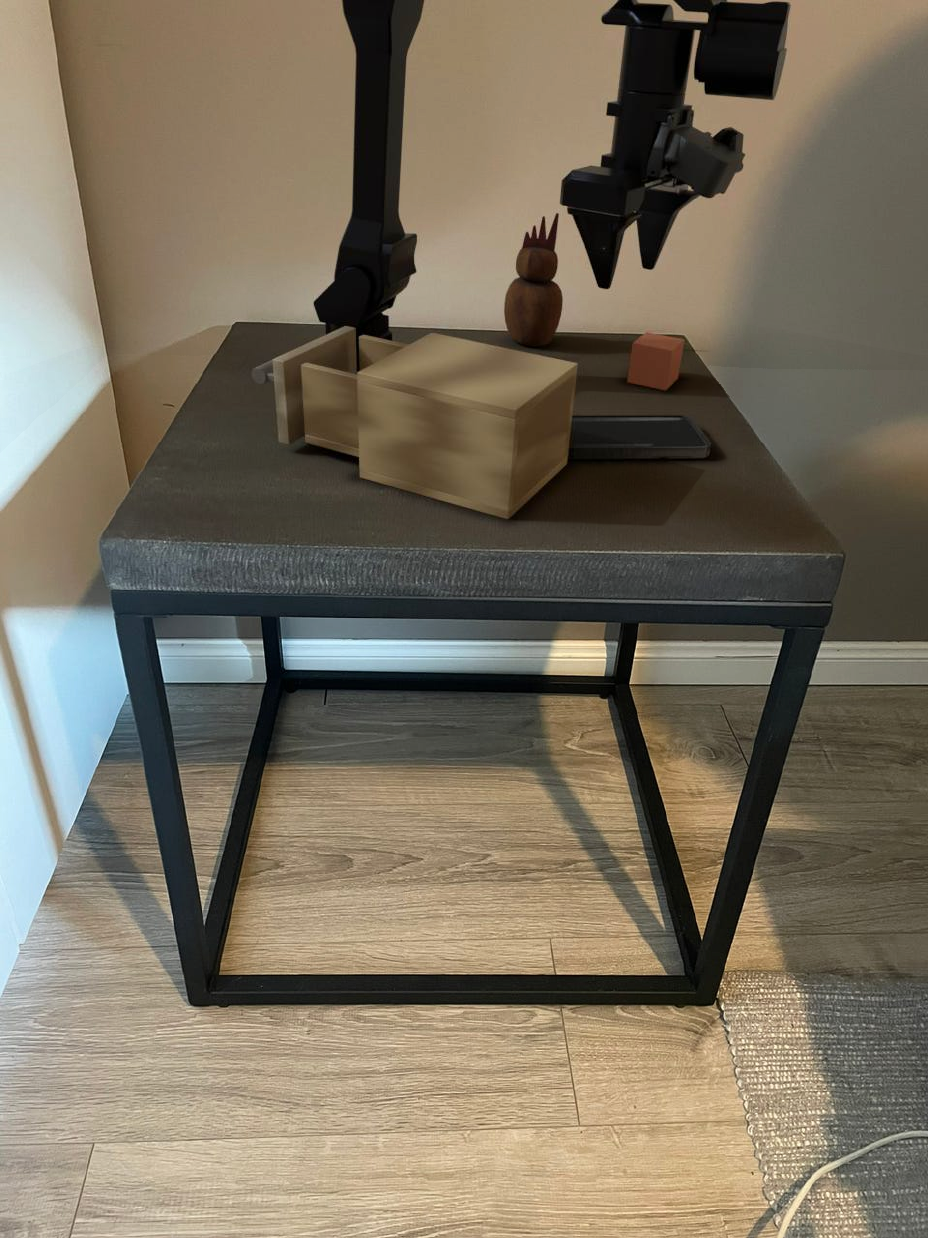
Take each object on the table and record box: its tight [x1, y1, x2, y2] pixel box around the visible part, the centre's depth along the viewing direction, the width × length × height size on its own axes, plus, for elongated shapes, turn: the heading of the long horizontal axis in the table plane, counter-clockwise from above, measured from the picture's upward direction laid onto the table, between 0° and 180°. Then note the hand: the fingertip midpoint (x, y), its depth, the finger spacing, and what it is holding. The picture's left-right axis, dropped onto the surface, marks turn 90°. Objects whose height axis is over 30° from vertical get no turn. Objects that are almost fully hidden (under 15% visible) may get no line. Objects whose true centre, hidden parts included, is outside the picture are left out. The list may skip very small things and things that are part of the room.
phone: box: [567, 414, 712, 460], centre depth 92 cm, size 8×1×15 cm
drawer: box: [251, 326, 410, 458], centre depth 87 cm, size 18×11×8 cm, turn 62°
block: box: [627, 331, 686, 391], centre depth 106 cm, size 4×4×4 cm
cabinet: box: [357, 332, 579, 520], centre depth 83 cm, size 15×13×10 cm
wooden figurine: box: [503, 212, 564, 347], centre depth 112 cm, size 7×6×15 cm
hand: (626, 278), depth 90 cm, fingers open, 9 cm apart
